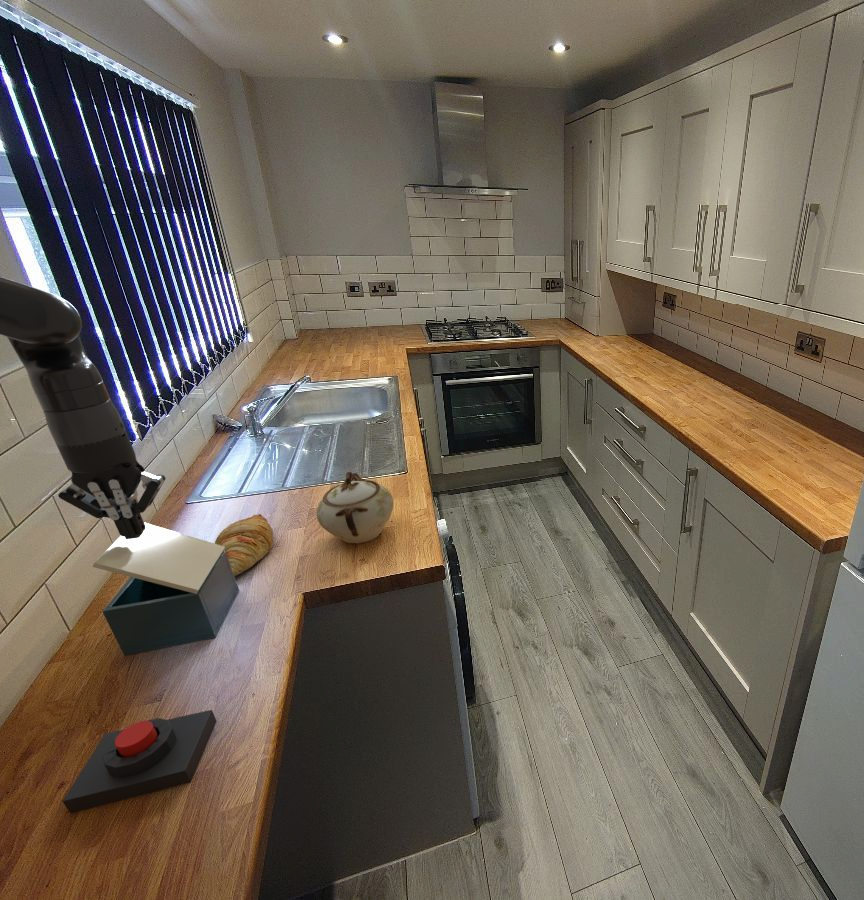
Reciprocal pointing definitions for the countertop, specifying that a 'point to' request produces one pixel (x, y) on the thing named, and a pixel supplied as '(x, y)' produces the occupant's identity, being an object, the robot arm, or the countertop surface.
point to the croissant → (246, 542)
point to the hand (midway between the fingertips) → (135, 536)
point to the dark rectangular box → (170, 611)
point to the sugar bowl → (355, 509)
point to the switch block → (142, 763)
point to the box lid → (162, 558)
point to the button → (136, 738)
